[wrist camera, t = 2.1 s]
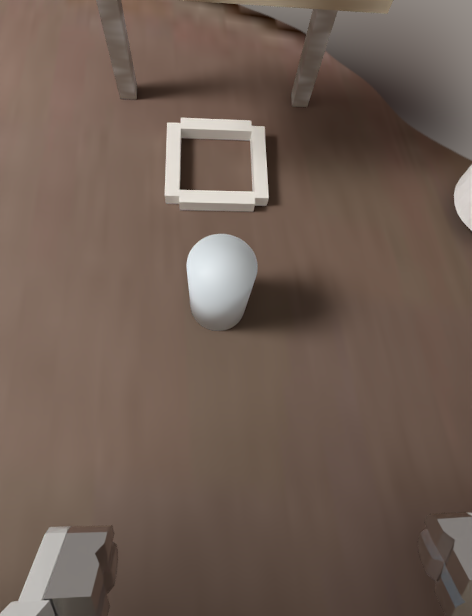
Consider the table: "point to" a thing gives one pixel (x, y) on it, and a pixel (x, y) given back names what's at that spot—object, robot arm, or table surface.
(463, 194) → the cup
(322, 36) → the overhang shelf
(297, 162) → the table surface
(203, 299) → the canister
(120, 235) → the table surface
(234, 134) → the white square frame
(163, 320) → the table surface
